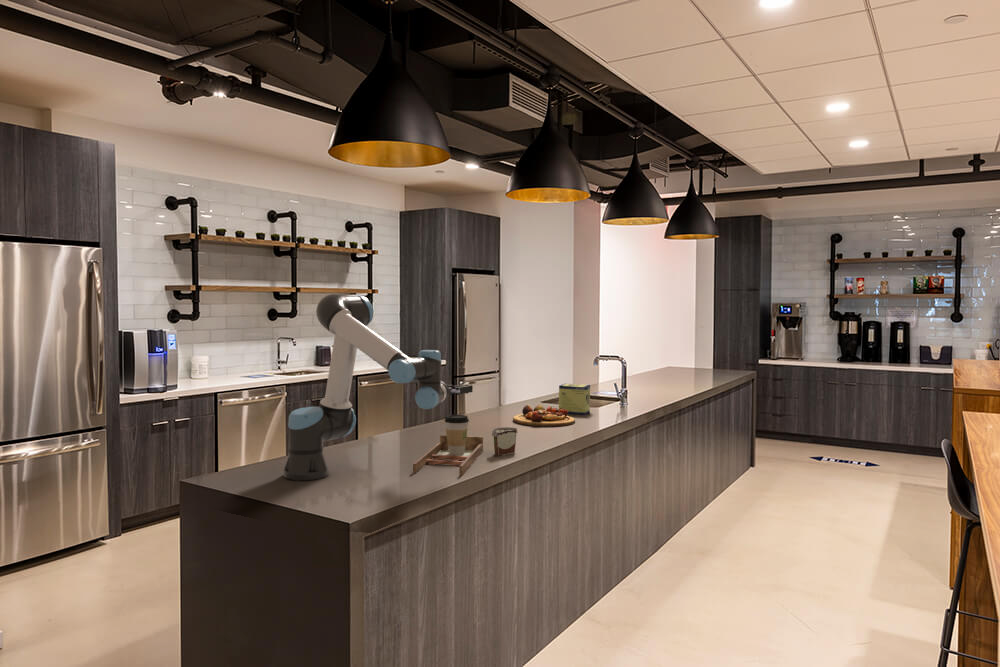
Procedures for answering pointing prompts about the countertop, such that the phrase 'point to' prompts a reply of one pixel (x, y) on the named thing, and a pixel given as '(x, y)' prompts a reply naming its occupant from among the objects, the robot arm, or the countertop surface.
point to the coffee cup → (456, 433)
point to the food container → (504, 440)
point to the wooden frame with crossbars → (471, 453)
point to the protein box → (575, 398)
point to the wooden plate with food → (544, 417)
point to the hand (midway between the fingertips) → (450, 385)
